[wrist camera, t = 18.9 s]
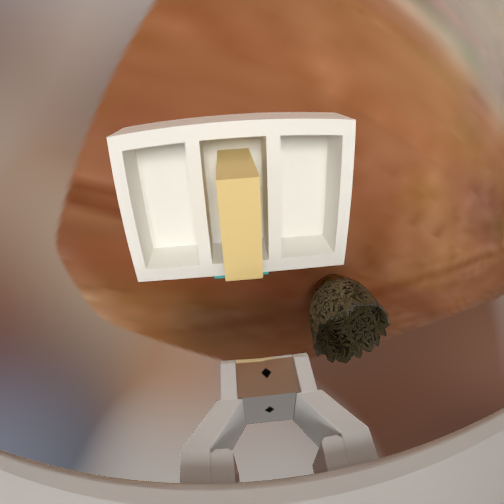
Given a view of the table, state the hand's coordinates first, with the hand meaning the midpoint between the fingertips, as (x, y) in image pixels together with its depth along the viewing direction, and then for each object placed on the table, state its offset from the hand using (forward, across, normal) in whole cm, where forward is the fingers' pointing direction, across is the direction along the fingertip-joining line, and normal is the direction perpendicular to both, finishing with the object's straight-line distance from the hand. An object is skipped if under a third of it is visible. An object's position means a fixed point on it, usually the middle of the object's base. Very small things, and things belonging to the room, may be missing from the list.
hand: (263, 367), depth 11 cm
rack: (+19, 0, 0) cm, 19 cm away
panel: (+18, 0, 0) cm, 18 cm away
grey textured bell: (+20, -9, +12) cm, 25 cm away
